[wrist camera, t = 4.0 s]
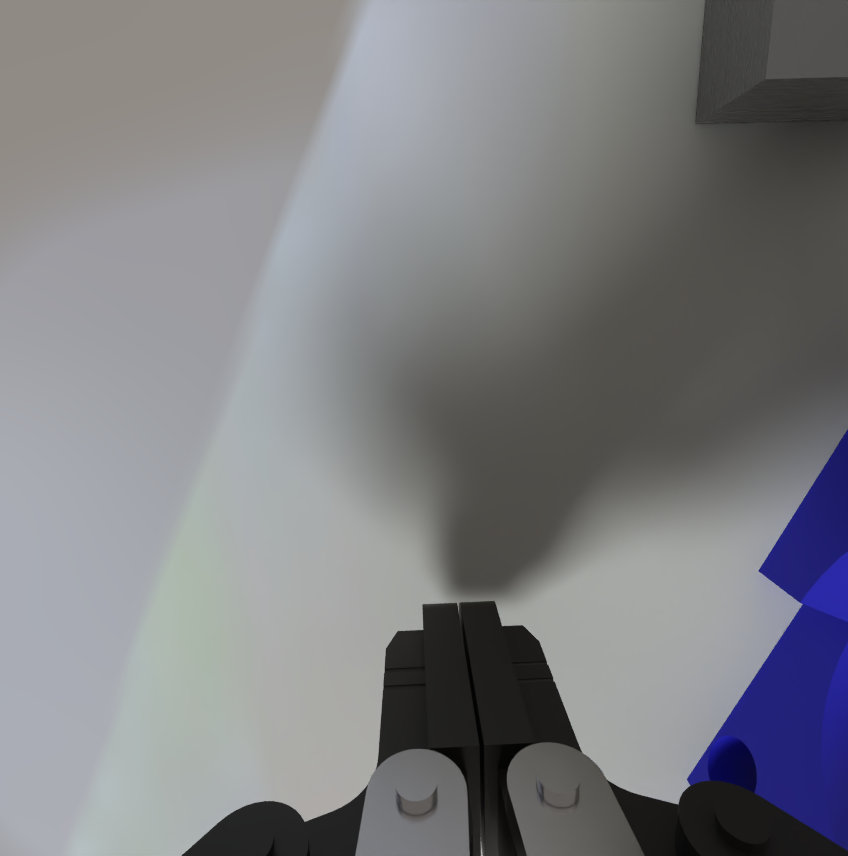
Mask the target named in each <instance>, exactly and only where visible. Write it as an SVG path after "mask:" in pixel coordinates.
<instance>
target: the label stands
mask: <svg viewBox="0 0 848 856" xmlns="http://www.w3.org/2000/svg"><path fill="white" fill-rule="evenodd" d="M814 120H848V0H706V2H705V14H704V26H703V39H702V51H701V63H700V75H699V87H698V99H697V111H696V124H710V123H745V122H779V121H814Z"/></svg>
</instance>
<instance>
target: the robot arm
mask: <svg viewBox="0 0 848 856" xmlns="http://www.w3.org/2000/svg"><path fill="white" fill-rule="evenodd" d="M383 686H384V690H383V700H382V714H381V728H380V742H379V756H378V763H377V767H376V770H375V772H374V773H373V775H372V776H371V779H370V781H369V783H368V785H367V787H366V788H365V789H364V790H363V791H362V792H361V793H360V794H359V795H358V796H357V797H356V798H355V799H354V800H352V801H351V802H350V803H348V804H346V805H345V806H343V807H341V808H339V809H337V810H335V811H333V812H330V813H327V814H325V815H322V816H320V817H317V818H314V819H312V820H309V821H306V822H304V820H303V819H302V817H301V815H300V814H299V813H298V812H297V811H296V810H295V809H293V808H292V807H290V806H288V805H286V804H283V803H280V802H274V801H264V802H258V803H253V804H250V805H247V806H244V807H242V808H240V809H238V810H236V811H234V812H233V813H231V814H229V815H228V816H226V817H225V818H224V819H223V820H221V821H220V822H219V823H218V824H217V825H216V826H214V827H213V828H212V829H211V830H210V831H209V832H208V833H207V834H205V835H204V836H203V837H202V838H201V839H200V840H199V841H198V842H196V843H195V844H194V845H193V846H192V847H191V848H190V849H189V850H187V851H186V852H185V853H184V854H183V855H182V856H481V844H482V852H483V856H848V851H847V850H846V849H844V848H843V847H841V846H839V845H838V844H836V843H835V842H833V841H831V840H830V839H828V838H827V837H825V836H823V835H822V834H820V833H819V832H817V831H815V830H814V829H812V828H810V827H809V826H807V825H806V824H804V823H802V822H801V821H799V820H798V819H796V818H794V817H793V816H791V815H790V814H788V813H786V812H785V811H783V810H782V809H780V808H778V807H777V806H775V805H774V804H772V803H770V802H769V801H767V800H765V799H764V798H762V797H761V796H759V795H757V794H755V793H753V792H752V791H750V790H747V789H745V788H743V787H741V786H738V785H735V784H731V783H727V782H722V781H702V782H698V783H695V784H693V785H691V786H690V787H688V788H687V789H686V790H685V791H684V792H683V794H682V796H681V797H680V801H679V805H677V804H673V803H669V802H665V801H661V800H657V799H653V798H649V797H645V796H641V795H638V794H635V793H632V792H629V791H626V790H624V789H622V788H620V787H618V786H616V785H614V784H613V783H611V782H609V781H608V780H607V779H606V777H605V776H604V774H603V772H602V771H601V769H600V768H599V767H598V766H597V765H596V764H595V763H594V762H593V761H592V760H591V759H590V758H589V757H588V756H586V755H585V754H583V753H582V751H581V749H580V747H579V744H578V742H577V739H576V736H575V734H574V731H573V729H572V726H571V723H570V721H569V718H568V716H567V713H566V710H565V708H564V705H563V702H562V700H561V697H560V695H559V692H558V689H557V687H556V684H555V682H553V676H552V674H551V671H550V669H549V666H548V665H547V661H546V658H545V655H544V653H543V650H542V648H541V645H540V642H539V641H538V640H537V639H536V638H535V637H534V636H533V635H532V634H531V633H530V632H529V631H528V630H527V629H526V628H525V627H524V626H523V625H520V626H502V625H501V621H500V618H499V614H498V611H497V607H496V604H495V602H494V601H484V602H462V603H459V612H458V606H457V603H443V604H423V630H414V631H398V632H397V633H396V635H395V636H394V638H393V639H392V641H391V642H390V644H389V645H388V647H387V648H386V657H385V673H384V685H383ZM480 837H481V840H480Z"/></svg>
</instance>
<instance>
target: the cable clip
mask: <svg viewBox="0 0 848 856" xmlns="http://www.w3.org/2000/svg"><path fill="white" fill-rule="evenodd" d="M759 572H760V573H762V574H763V575H764V576H766V577H767V578H768V579H770V580H771V581H772V582H774V583H775V584H776V585H778V586H779V587H780V588H781V589H783V590H784V591H785V592H787V593H788V594H789V595H791V596H792V597H793V598H795V599H796V600H797V601H799V602H800V603H802V604H803V605H802V606H801V608H800V609H799V611H798V612H797V614H796V616H795V617H794V619H793V620H792V622H791V623H790V625H789V626H788V628H787V629H786V631H785V632H784V634H783V635H782V637H781V638H780V640H779V641H778V643H777V644H776V646H775V647H774V649H773V650H772V652H771V653H770V655H769V656H768V658H767V659H766V661H765V662H764V664H763V665H762V667H761V668H760V670H759V671H758V673H757V674H756V676H755V677H754V679H753V680H752V682H751V683H750V685H749V686H748V688H747V689H746V691H745V692H744V694H743V696H742V697H741V699H740V700H739V702H738V703H737V705H736V706H735V708H734V709H733V711H732V712H731V714H730V715H729V717H728V718H727V720H726V721H725V723H724V724H723V726H722V727H721V729H720V730H719V732H718V733H717V735H716V736H715V738H714V739H713V741H712V742H711V744H710V745H709V747H708V748H707V750H706V751H705V753H704V754H703V756H702V757H701V759H700V760H699V762H698V763H697V765H696V766H695V768H694V769H693V771H692V772H691V774H690V776H689V777H688V779H687V780H688V782H689V784H690V785H693V784H695V783H698V782H702V781H722V782H727V783H731V784H735V785H738V786H741V787H743V788H745V789H747V790H750V791H752V792H753V793H755V794H757V795H759V796H761V797H762V798H764V799H765V800H767V801H769V802H770V803H772V804H774V805H775V806H777V807H778V808H780V809H782V810H783V811H785V812H786V813H788V814H790V815H791V816H793V817H794V818H796V819H798V820H799V821H801V822H802V823H804V824H806V825H807V826H809V827H810V828H812V829H814V830H815V831H817V832H819V833H820V834H822V835H823V836H825V837H827V838H828V839H830V840H831V841H833V842H835V843H836V844H838V845H839V846H841V847H843V848H844V849H846V850H847V851H848V430H847V431H846V433H845V435H844V436H843V438H842V439H841V441H840V443H839V444H838V446H837V447H836V449H835V451H834V452H833V454H832V455H831V457H830V458H829V460H828V462H827V463H826V465H825V466H824V468H823V470H822V471H821V473H820V474H819V476H818V477H817V479H816V481H815V482H814V484H813V485H812V487H811V489H810V490H809V492H808V493H807V495H806V496H805V498H804V500H803V501H802V503H801V504H800V506H799V508H798V509H797V511H796V512H795V514H794V516H793V517H792V519H791V520H790V522H789V523H788V525H787V527H786V528H785V530H784V531H783V533H782V535H781V536H780V538H779V539H778V541H777V542H776V544H775V546H774V547H773V549H772V550H771V552H770V554H769V555H768V557H767V558H766V560H765V562H764V563H763V565H762V566H761V568H760V569H759Z"/></svg>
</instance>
